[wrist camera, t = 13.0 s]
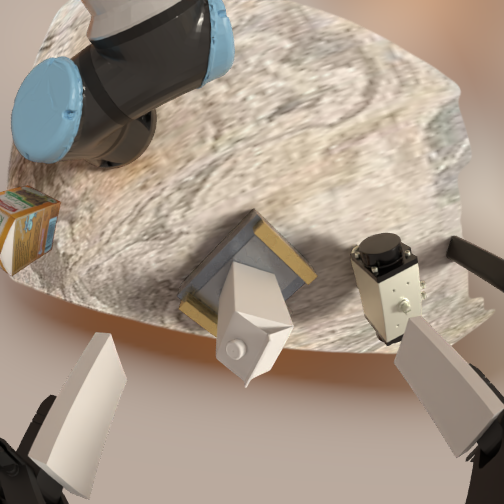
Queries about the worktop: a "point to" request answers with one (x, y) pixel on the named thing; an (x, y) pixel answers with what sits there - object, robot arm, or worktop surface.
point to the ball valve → (388, 284)
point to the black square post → (477, 261)
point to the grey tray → (248, 253)
